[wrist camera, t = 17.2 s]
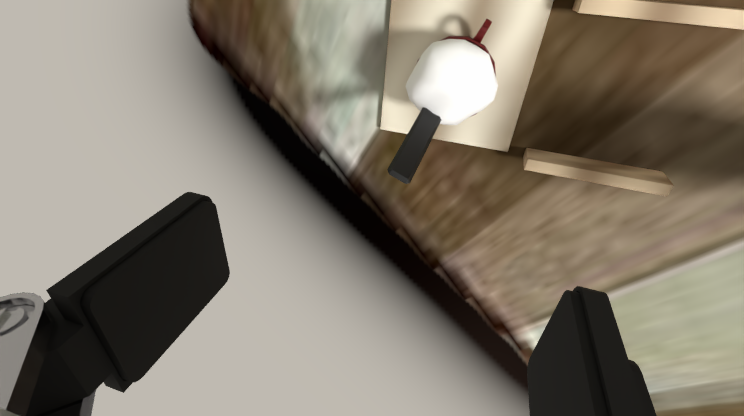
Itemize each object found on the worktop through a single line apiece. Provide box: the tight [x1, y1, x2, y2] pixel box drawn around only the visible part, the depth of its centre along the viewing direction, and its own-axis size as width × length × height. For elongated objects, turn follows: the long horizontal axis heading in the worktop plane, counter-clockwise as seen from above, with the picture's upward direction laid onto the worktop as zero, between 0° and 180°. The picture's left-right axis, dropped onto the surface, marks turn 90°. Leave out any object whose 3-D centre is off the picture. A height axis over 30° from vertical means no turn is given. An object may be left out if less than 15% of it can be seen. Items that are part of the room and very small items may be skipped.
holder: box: [523, 0, 744, 196], centre depth 28 cm, size 11×13×2 cm
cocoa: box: [387, 19, 498, 184], centre depth 26 cm, size 10×6×12 cm, turn 132°
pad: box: [380, 0, 554, 152], centre depth 31 cm, size 12×12×1 cm
